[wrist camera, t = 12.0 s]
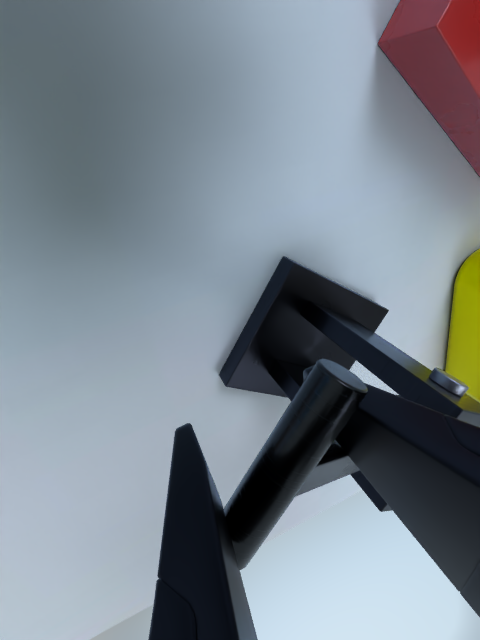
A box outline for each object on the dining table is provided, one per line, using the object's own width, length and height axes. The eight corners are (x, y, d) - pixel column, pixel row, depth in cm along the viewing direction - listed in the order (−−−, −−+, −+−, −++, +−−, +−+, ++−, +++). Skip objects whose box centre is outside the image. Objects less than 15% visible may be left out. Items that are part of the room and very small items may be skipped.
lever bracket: (218, 374, 20) (320, 546, 11) (282, 255, 18) (463, 361, 9) (316, 394, 25) (437, 524, 16) (376, 303, 23) (547, 399, 14)
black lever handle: (188, 512, 9) (238, 609, 7) (289, 340, 7) (380, 414, 6) (365, 452, 17) (407, 492, 15) (430, 366, 15) (483, 400, 14)
